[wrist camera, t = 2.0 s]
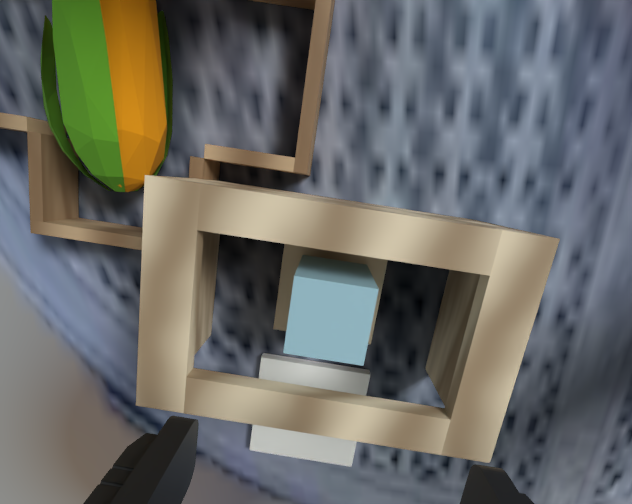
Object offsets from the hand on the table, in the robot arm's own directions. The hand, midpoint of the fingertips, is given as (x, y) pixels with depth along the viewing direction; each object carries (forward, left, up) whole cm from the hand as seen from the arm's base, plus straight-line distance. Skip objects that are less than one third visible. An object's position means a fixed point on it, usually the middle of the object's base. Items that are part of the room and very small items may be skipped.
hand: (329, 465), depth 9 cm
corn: (+18, -15, -19) cm, 30 cm away
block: (0, 0, -16) cm, 16 cm away
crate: (0, 0, -19) cm, 19 cm away
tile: (0, +13, -19) cm, 23 cm away
